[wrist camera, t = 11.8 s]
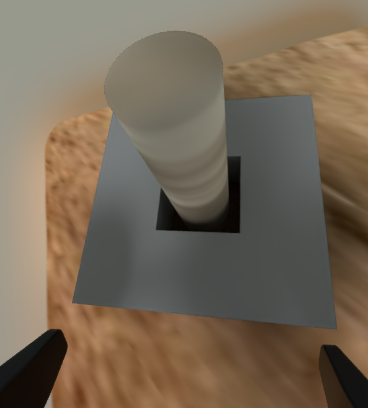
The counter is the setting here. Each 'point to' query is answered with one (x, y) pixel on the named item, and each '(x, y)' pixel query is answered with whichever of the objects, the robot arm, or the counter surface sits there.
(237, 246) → the socket block
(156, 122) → the long pin
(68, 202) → the counter surface
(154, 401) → the counter surface
